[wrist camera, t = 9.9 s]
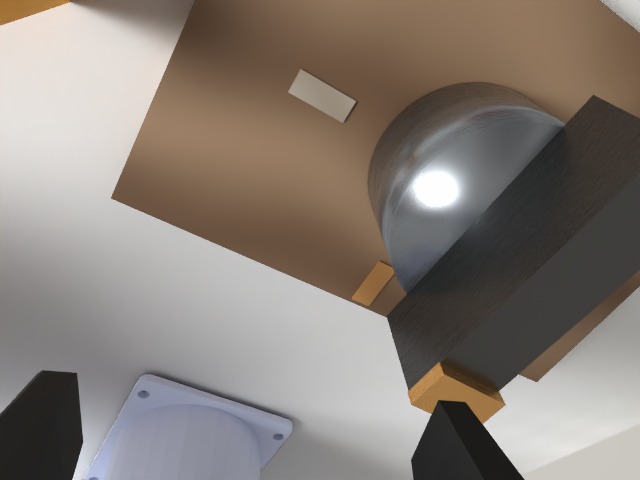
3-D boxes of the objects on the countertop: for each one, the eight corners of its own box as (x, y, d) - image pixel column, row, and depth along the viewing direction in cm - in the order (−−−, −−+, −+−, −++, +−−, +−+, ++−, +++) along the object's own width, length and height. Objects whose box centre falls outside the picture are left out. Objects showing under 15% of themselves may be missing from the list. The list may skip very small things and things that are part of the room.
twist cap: (608, 131, 17) (802, 248, 11) (449, 293, 20) (528, 458, 14) (472, 15, 15) (619, 76, 9) (317, 217, 18) (340, 372, 12)
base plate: (523, 358, 25) (537, 383, 24) (122, 179, 18) (109, 199, 17) (751, 136, 19) (786, 151, 18) (296, -226, 13) (298, -244, 12)
